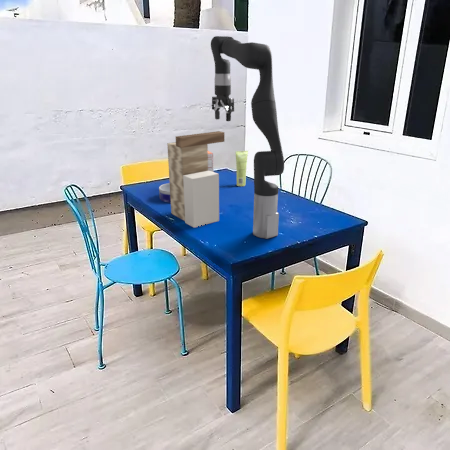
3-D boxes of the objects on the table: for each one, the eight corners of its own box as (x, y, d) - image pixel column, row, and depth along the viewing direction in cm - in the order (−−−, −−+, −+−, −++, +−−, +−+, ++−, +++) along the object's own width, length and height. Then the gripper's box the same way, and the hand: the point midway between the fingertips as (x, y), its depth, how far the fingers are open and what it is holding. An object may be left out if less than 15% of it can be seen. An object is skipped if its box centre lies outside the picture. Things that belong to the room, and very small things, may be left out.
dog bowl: (193, 200, 196) (193, 189, 194) (163, 204, 191) (162, 192, 189) (184, 192, 209) (184, 181, 207) (156, 195, 204) (155, 184, 202)
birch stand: (208, 214, 177) (207, 144, 165) (185, 221, 170) (182, 147, 158) (194, 207, 186) (192, 140, 174) (171, 213, 179) (167, 143, 167)
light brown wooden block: (224, 141, 170) (224, 132, 168) (181, 147, 157) (180, 137, 156) (219, 140, 173) (218, 131, 171) (176, 146, 160) (175, 136, 159)
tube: (239, 183, 224) (239, 149, 216) (247, 184, 221) (248, 150, 214) (235, 186, 219) (235, 151, 212) (243, 187, 217) (243, 152, 209)
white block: (219, 220, 170) (218, 173, 162) (194, 227, 163) (192, 179, 155) (209, 216, 176) (209, 170, 168) (185, 222, 168) (183, 175, 160)
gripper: (238, 84, 177) (238, 121, 184) (219, 83, 188) (220, 118, 194) (225, 85, 173) (225, 122, 179) (207, 83, 183) (207, 119, 190)
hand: (222, 120), depth 187 cm, fingers open, 8 cm apart
